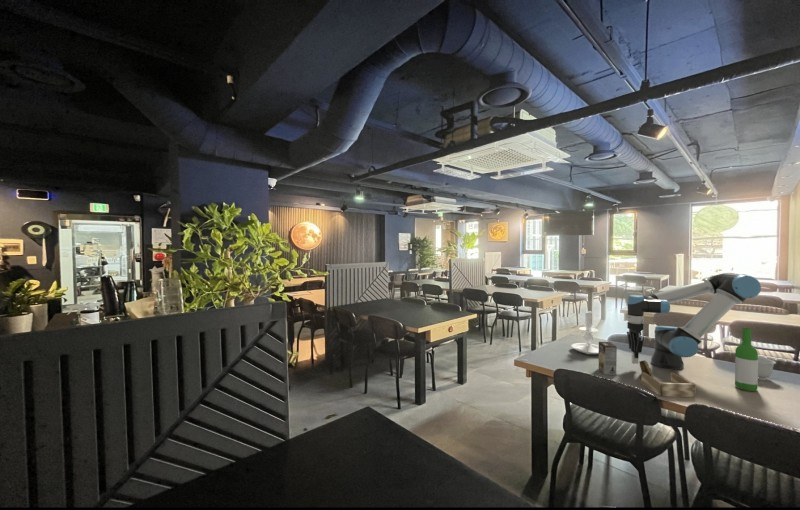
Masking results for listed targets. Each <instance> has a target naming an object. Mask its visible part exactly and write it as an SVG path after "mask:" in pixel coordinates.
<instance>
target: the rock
mask: <svg viewBox="0 0 800 510" xmlns="http://www.w3.org/2000/svg"><path fill="white" fill-rule="evenodd" d="M638 364H639V367H640V371H641V372H645V373H646V374H648V375H650V376H651V377H653V378H654V376H653V372H652V370H651V367H650V366H649V363H648V362H647V361H646V360H640V361H638Z"/></svg>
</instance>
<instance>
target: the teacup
mask: <svg viewBox="0 0 800 510" xmlns="http://www.w3.org/2000/svg"><path fill="white" fill-rule="evenodd" d="M776 364H777V362H776V361H775V360H773V359H770V358H767V357H761V356H759V355H758V377H759V378H758V380H760V381H766V380H767V378H769V377H771V376H772V374H773V371H774V370H773V369H774V365H776Z"/></svg>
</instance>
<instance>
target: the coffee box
mask: <svg viewBox="0 0 800 510" xmlns="http://www.w3.org/2000/svg"><path fill="white" fill-rule="evenodd" d="M598 345H599V354H598V369H599V370H600V371H601V372H602V374H604V375H608V376H611V375H613V376H617V361H618V360H617V357H618V356H617V354H618V353H617V352H618V351H617V350H618V349H617V348H618V347H617V346H616V345H615V344H613V343H612V342H611V341H598Z"/></svg>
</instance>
